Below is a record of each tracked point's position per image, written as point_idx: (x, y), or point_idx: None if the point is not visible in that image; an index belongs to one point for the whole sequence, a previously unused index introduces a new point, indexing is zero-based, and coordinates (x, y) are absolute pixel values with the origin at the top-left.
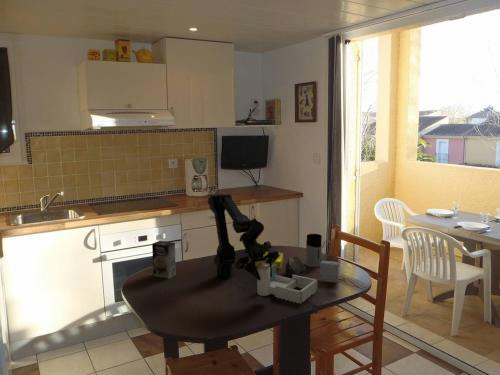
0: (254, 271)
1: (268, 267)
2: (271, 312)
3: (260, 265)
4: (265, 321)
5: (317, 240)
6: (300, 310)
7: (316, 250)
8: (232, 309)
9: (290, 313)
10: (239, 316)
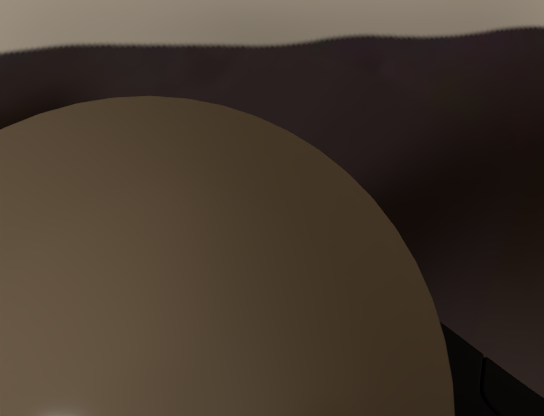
0: (506, 393)
1: (71, 139)
2: None
3: (339, 387)
4: (379, 48)
5: None
6: (54, 61)
7: None
8: (540, 344)
9: (153, 59)
10: (523, 200)
